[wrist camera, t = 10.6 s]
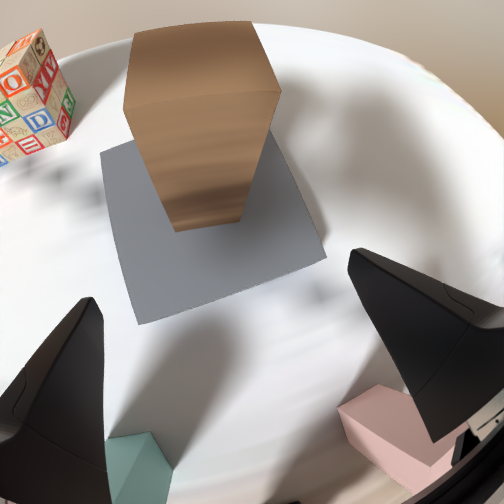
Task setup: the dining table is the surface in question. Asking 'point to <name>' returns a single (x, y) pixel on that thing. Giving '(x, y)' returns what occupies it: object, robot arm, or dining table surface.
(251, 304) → the dining table surface
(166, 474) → the muted teal block
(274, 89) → the walnut block
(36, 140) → the stack of blocks
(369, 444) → the dusty pink block
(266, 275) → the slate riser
